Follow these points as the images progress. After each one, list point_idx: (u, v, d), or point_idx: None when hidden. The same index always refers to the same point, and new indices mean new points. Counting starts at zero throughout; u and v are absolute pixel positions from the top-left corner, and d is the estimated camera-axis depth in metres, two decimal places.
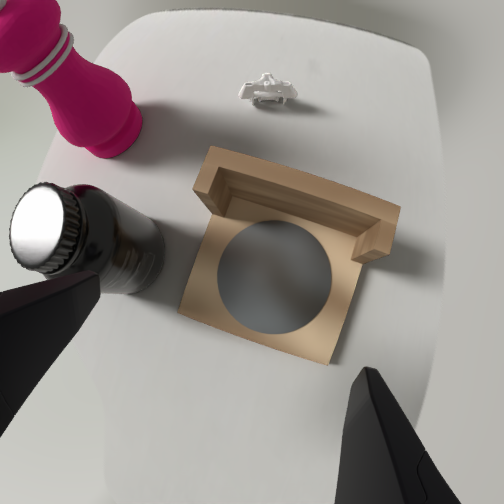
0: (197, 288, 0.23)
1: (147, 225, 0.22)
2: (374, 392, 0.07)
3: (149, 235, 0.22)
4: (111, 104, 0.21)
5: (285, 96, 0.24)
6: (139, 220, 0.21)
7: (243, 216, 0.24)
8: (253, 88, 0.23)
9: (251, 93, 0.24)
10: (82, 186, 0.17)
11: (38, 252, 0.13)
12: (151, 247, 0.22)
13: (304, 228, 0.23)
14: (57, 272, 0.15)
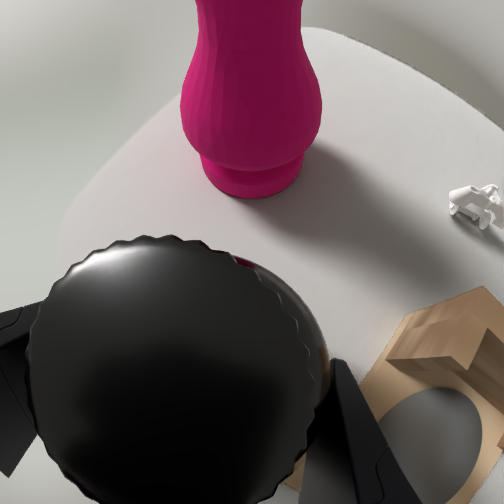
0: None
1: None
2: (338, 384, 0.07)
3: None
4: (306, 118, 0.13)
5: (495, 222, 0.16)
6: None
7: (420, 374, 0.14)
8: (476, 197, 0.15)
9: (468, 202, 0.15)
10: (266, 276, 0.08)
11: (147, 489, 0.03)
12: None
13: (474, 404, 0.13)
14: None
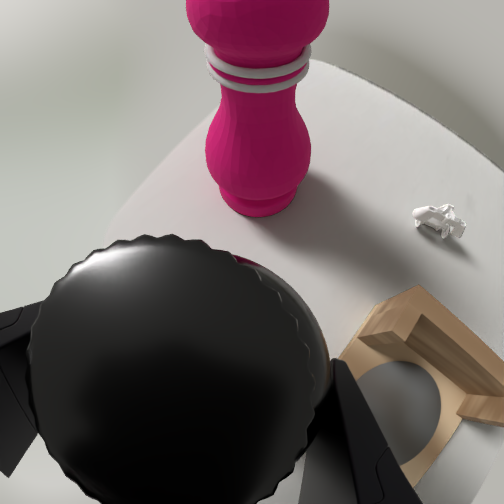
0: None
1: None
2: (338, 383, 0.07)
3: None
4: (298, 164, 0.19)
5: (453, 233, 0.22)
6: None
7: (385, 349, 0.20)
8: (433, 215, 0.21)
9: (428, 218, 0.21)
10: (267, 275, 0.08)
11: (148, 488, 0.03)
12: None
13: (432, 377, 0.19)
14: None
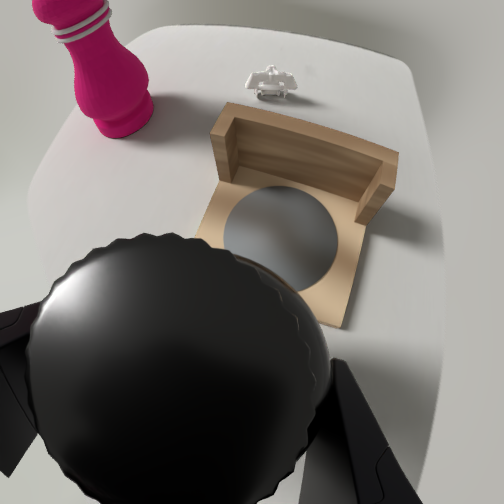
0: None
1: None
2: (338, 384, 0.07)
3: None
4: (132, 78, 0.22)
5: (286, 87, 0.27)
6: None
7: (249, 182, 0.25)
8: (259, 78, 0.26)
9: (257, 83, 0.26)
10: (267, 274, 0.08)
11: (147, 487, 0.03)
12: None
13: (308, 193, 0.24)
14: None
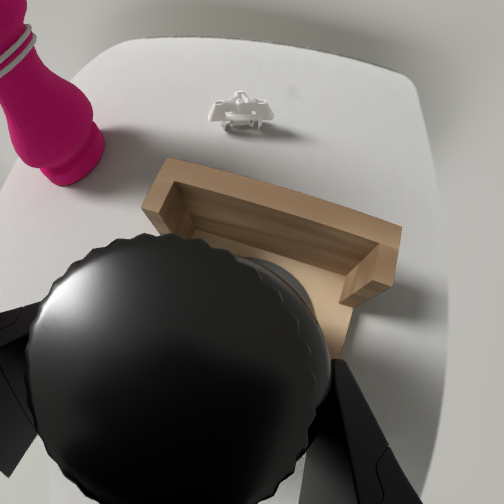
0: None
1: None
2: (338, 384, 0.07)
3: None
4: (68, 118, 0.18)
5: (260, 118, 0.22)
6: None
7: None
8: (224, 107, 0.21)
9: (222, 114, 0.22)
10: (267, 274, 0.08)
11: (147, 488, 0.03)
12: None
13: (281, 266, 0.19)
14: None
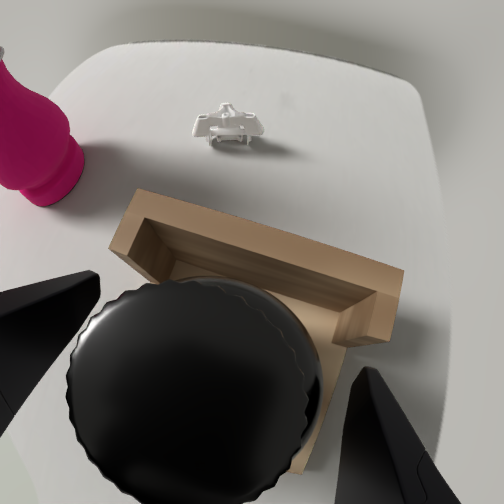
0: None
1: None
2: (374, 392, 0.07)
3: None
4: (41, 138, 0.16)
5: (248, 133, 0.20)
6: None
7: None
8: (208, 122, 0.19)
9: (206, 129, 0.20)
10: (269, 300, 0.09)
11: (175, 483, 0.04)
12: None
13: None
14: None
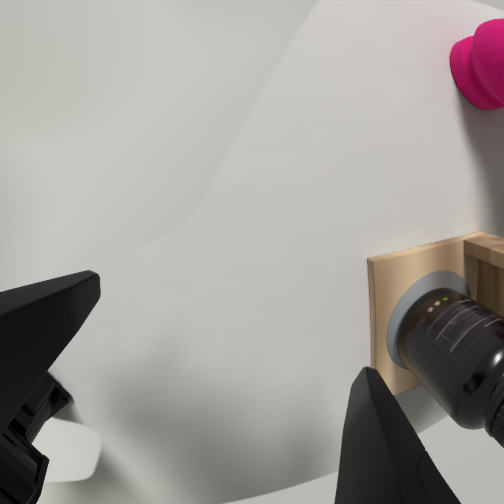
0: (403, 267, 0.20)
1: None
2: (374, 392, 0.07)
3: None
4: None
5: None
6: None
7: (467, 268, 0.20)
8: None
9: None
10: None
11: None
12: None
13: None
14: (487, 428, 0.11)
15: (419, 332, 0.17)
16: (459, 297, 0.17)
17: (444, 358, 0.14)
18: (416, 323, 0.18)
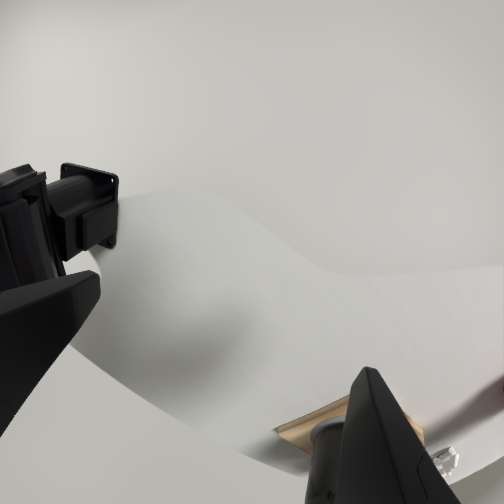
0: None
1: None
2: (374, 392, 0.07)
3: None
4: None
5: None
6: None
7: None
8: (450, 466, 0.25)
9: (450, 462, 0.25)
10: None
11: None
12: None
13: None
14: None
15: None
16: None
17: None
18: None
